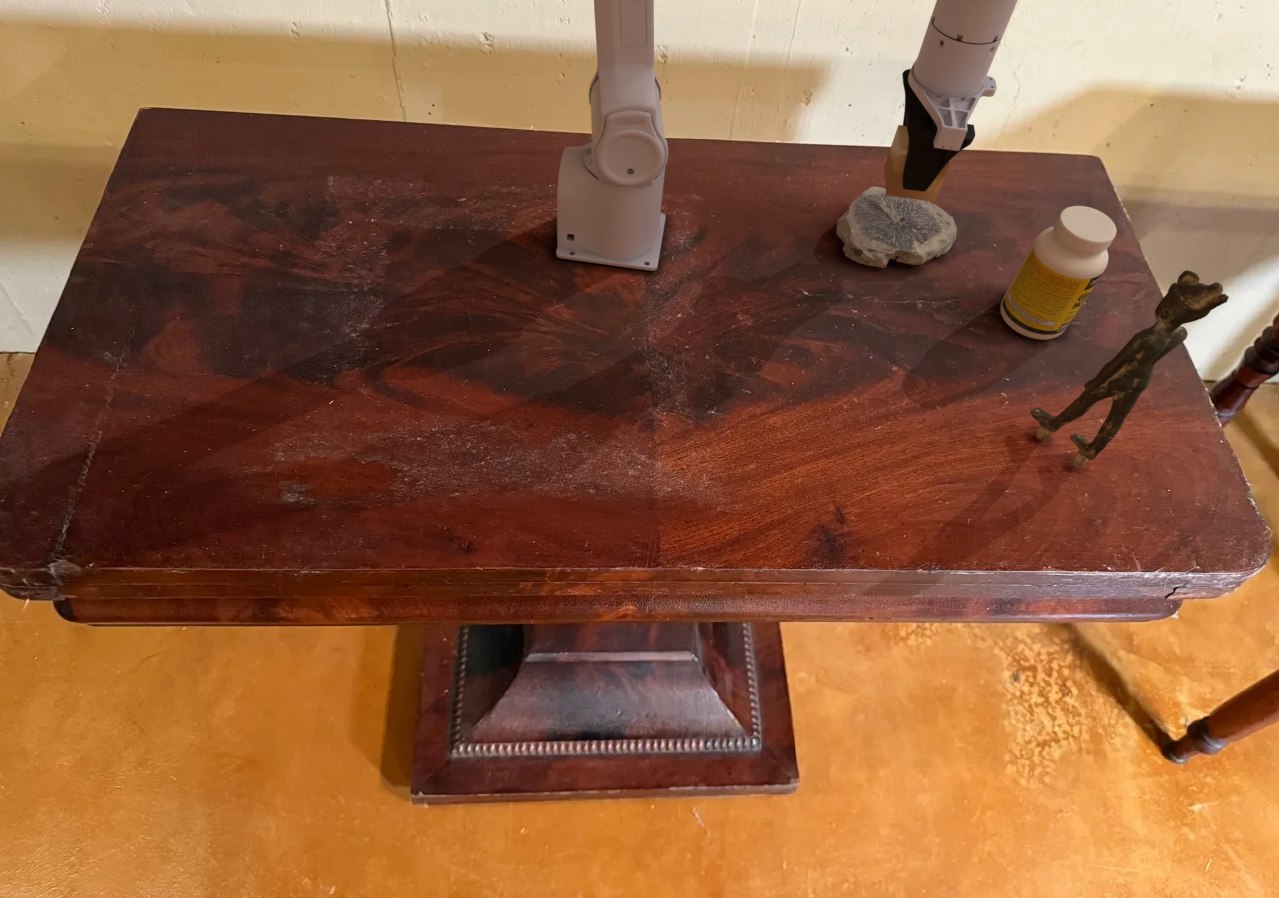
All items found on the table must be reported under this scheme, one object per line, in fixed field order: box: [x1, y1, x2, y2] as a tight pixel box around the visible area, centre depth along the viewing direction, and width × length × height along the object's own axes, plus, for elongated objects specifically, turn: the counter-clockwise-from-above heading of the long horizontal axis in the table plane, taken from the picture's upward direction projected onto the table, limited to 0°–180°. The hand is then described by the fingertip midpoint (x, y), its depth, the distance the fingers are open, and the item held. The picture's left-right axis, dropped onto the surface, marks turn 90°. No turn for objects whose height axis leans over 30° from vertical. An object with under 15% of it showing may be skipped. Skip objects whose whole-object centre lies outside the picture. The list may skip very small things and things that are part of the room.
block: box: [883, 124, 952, 203], centre depth 80 cm, size 4×4×4 cm
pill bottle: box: [999, 205, 1117, 341], centre depth 78 cm, size 6×6×11 cm
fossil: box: [836, 185, 958, 269], centre depth 86 cm, size 11×4×10 cm
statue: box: [1030, 270, 1230, 468], centre depth 65 cm, size 5×6×20 cm
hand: (912, 171), depth 80 cm, fingers closed on block, 4 cm apart
